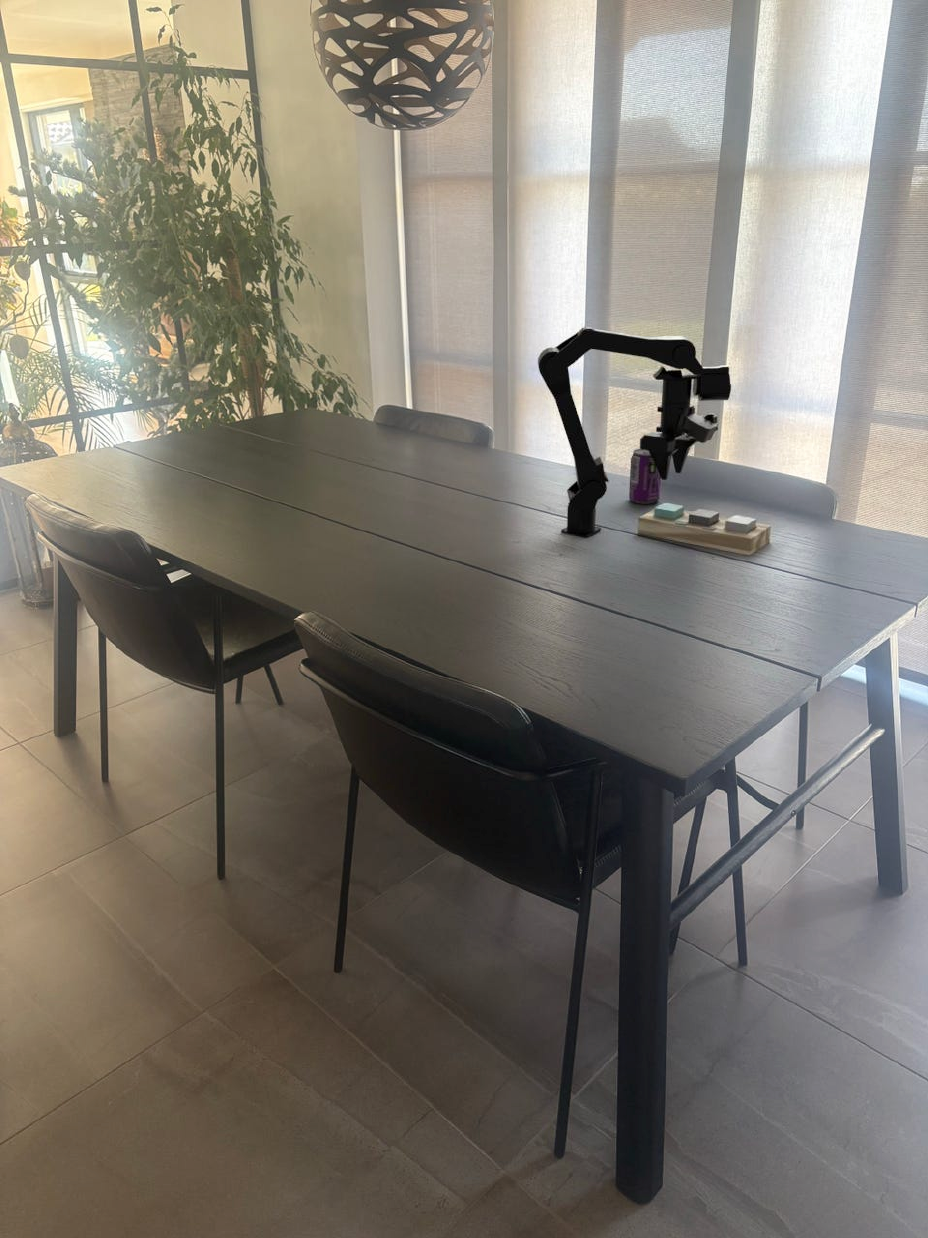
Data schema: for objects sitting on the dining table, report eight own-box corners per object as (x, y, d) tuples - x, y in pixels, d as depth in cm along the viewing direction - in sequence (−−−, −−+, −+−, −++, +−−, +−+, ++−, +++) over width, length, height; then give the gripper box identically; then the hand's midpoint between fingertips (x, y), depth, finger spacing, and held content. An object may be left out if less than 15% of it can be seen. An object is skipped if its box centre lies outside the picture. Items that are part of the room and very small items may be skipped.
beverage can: (659, 505, 217) (662, 455, 212) (628, 504, 219) (630, 454, 214) (659, 497, 224) (662, 447, 219) (629, 496, 225) (631, 447, 220)
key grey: (745, 538, 187) (747, 524, 186) (724, 534, 190) (725, 520, 189) (754, 532, 190) (756, 518, 189) (733, 528, 193) (734, 514, 192)
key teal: (673, 525, 196) (674, 511, 195) (653, 521, 199) (654, 507, 198) (683, 519, 200) (684, 506, 198) (663, 516, 202) (664, 502, 201)
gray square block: (708, 531, 192) (709, 517, 191) (688, 527, 194) (689, 514, 193) (718, 526, 195) (719, 512, 194) (697, 522, 198) (698, 508, 196)
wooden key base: (749, 555, 185) (751, 537, 183) (637, 533, 199) (638, 516, 198) (769, 541, 192) (771, 524, 190) (659, 521, 206) (660, 505, 205)
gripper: (692, 413, 178) (686, 492, 184) (732, 397, 191) (726, 471, 197) (640, 407, 184) (636, 484, 191) (682, 392, 198) (678, 464, 204)
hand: (671, 476), depth 196 cm, fingers open, 6 cm apart
